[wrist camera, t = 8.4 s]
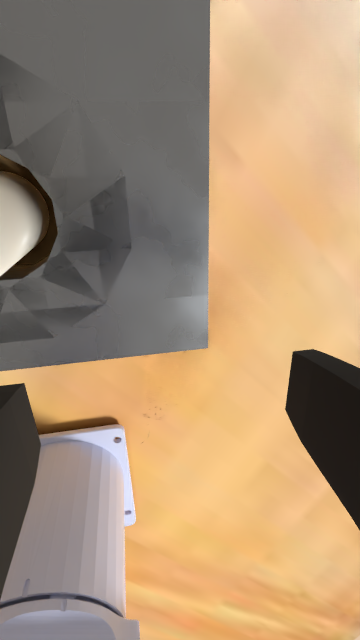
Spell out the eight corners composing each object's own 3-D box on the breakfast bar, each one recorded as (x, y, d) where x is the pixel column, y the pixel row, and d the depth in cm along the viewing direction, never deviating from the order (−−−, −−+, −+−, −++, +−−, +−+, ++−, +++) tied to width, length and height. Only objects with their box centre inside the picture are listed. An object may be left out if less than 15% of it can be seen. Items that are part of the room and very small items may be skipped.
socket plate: (197, 328, 19) (207, 347, 17) (-142, 363, 17) (-180, 391, 15) (195, 26, 14) (209, -1, 11) (-323, 12, 11) (-429, -26, 9)
